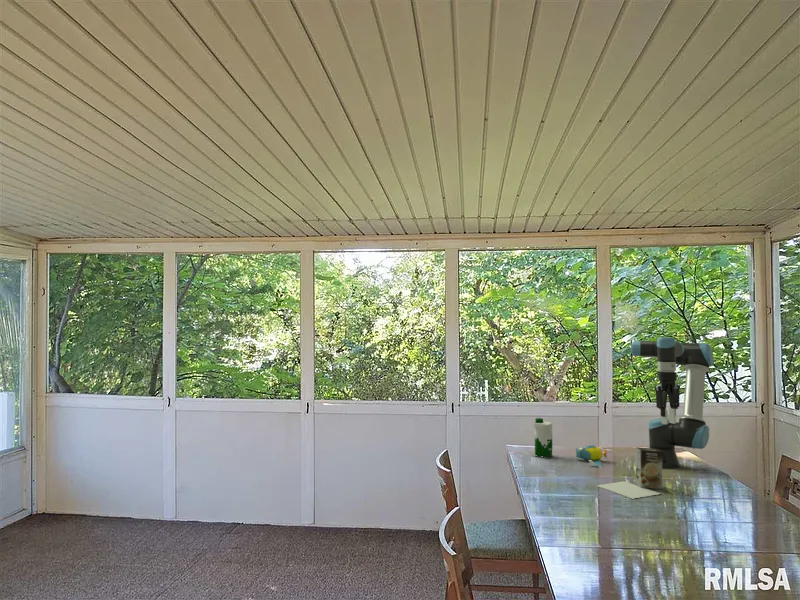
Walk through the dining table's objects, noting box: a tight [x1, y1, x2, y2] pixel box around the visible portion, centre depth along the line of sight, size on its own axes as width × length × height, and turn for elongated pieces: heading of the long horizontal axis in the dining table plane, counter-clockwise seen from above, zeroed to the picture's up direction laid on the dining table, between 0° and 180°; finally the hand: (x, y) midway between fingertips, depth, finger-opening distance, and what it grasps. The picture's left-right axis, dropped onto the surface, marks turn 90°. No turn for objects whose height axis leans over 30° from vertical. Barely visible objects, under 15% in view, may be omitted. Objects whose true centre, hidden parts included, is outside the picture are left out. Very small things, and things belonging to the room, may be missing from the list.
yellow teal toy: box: [575, 444, 608, 468], centre depth 284 cm, size 28×9×15 cm
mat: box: [596, 480, 662, 500], centre depth 231 cm, size 16×20×1 cm
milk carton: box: [533, 417, 553, 458], centre depth 295 cm, size 9×9×20 cm
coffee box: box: [635, 447, 663, 490], centre depth 236 cm, size 9×6×16 cm
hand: (668, 423), depth 242 cm, fingers open, 4 cm apart
